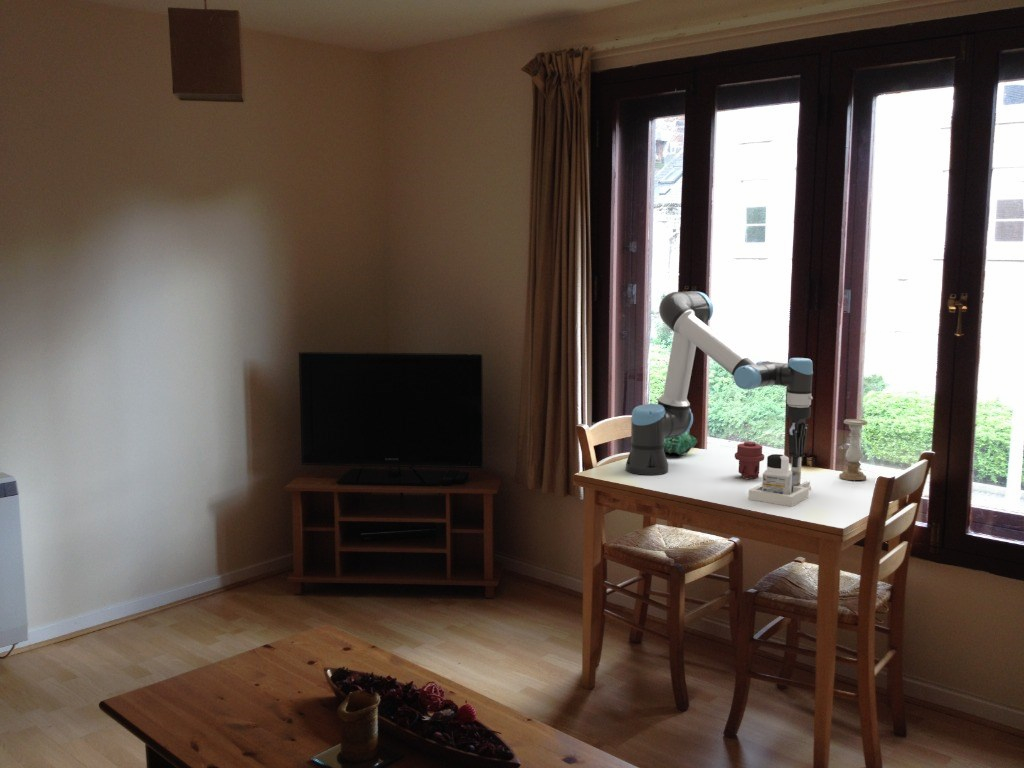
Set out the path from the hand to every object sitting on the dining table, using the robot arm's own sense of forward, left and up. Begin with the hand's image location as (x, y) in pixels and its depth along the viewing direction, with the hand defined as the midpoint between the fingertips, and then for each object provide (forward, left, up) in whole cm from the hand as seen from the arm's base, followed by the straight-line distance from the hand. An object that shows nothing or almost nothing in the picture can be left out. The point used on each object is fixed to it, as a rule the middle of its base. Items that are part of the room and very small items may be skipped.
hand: (795, 476), depth 292 cm
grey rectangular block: (0, -6, -3) cm, 7 cm away
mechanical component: (-19, +7, -5) cm, 21 cm away
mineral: (-57, +26, -5) cm, 63 cm away
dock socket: (0, -9, -4) cm, 10 cm away
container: (0, -15, -4) cm, 16 cm away
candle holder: (+10, +28, -5) cm, 30 cm away
